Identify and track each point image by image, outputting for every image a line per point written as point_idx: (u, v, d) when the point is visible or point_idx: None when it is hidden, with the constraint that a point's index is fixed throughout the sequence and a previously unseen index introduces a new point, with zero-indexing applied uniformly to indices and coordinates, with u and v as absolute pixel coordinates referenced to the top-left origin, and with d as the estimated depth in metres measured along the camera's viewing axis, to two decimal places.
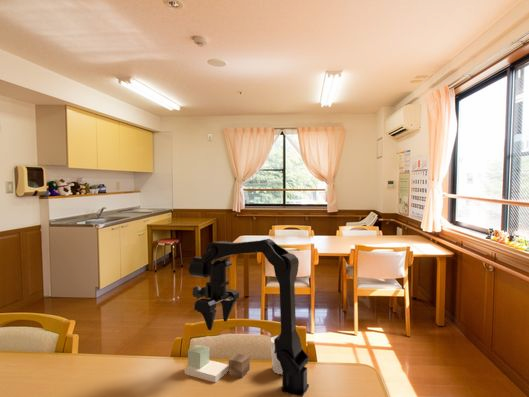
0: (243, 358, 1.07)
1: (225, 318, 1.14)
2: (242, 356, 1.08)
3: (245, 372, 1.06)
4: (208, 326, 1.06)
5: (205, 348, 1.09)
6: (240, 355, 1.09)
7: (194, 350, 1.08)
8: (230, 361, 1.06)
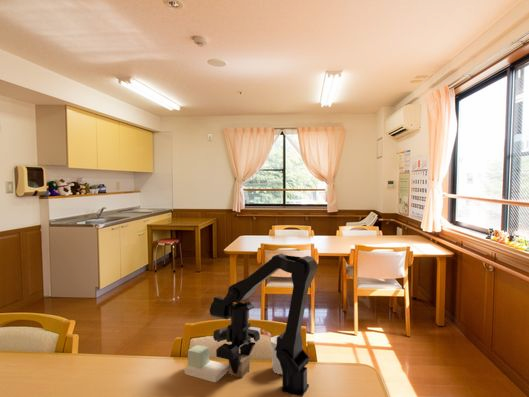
0: (243, 358, 1.07)
1: None
2: (242, 356, 1.08)
3: (245, 372, 1.06)
4: (233, 370, 1.04)
5: (205, 348, 1.09)
6: None
7: (194, 350, 1.08)
8: None
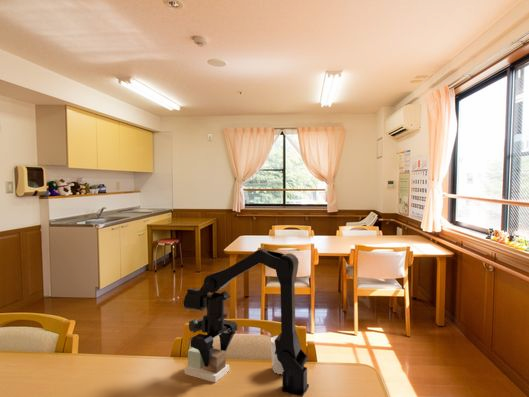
0: (219, 353, 1.06)
1: None
2: (218, 351, 1.07)
3: (220, 367, 1.05)
4: (205, 363, 1.02)
5: None
6: (216, 350, 1.08)
7: (194, 350, 1.08)
8: None
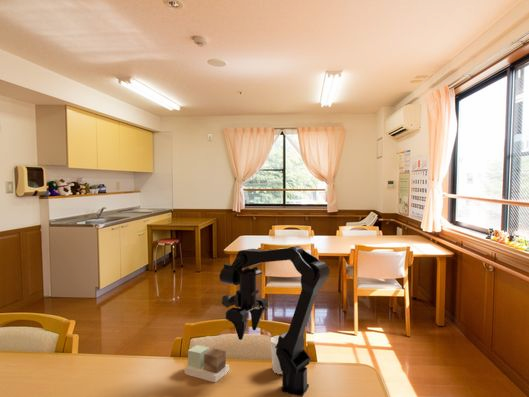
0: (219, 353, 1.06)
1: (254, 327, 1.12)
2: (218, 351, 1.07)
3: (220, 367, 1.05)
4: (239, 336, 1.04)
5: (205, 348, 1.09)
6: (216, 350, 1.08)
7: (194, 350, 1.08)
8: (205, 356, 1.05)
